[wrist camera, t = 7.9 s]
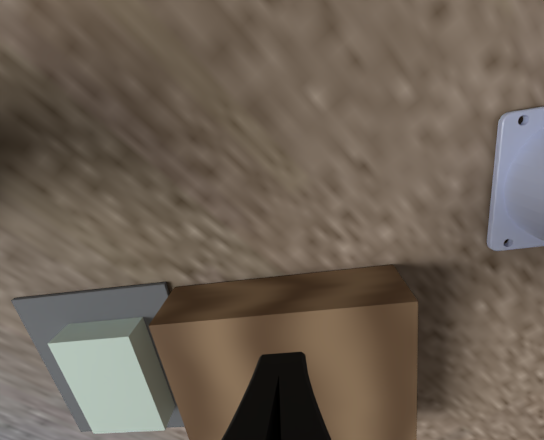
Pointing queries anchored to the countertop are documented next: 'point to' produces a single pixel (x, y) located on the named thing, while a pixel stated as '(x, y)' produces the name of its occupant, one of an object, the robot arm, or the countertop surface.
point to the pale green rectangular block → (114, 375)
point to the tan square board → (296, 348)
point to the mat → (89, 308)
